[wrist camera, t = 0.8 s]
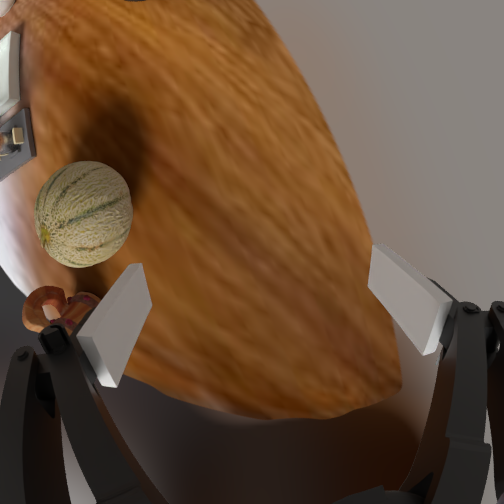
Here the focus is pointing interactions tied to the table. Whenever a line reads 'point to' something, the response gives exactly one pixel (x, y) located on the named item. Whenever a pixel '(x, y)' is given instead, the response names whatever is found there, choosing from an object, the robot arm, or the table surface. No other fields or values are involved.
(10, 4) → the lidded jar
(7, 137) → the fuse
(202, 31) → the table surface
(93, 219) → the cantaloupe
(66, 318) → the mug
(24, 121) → the fuse holder
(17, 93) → the tray
